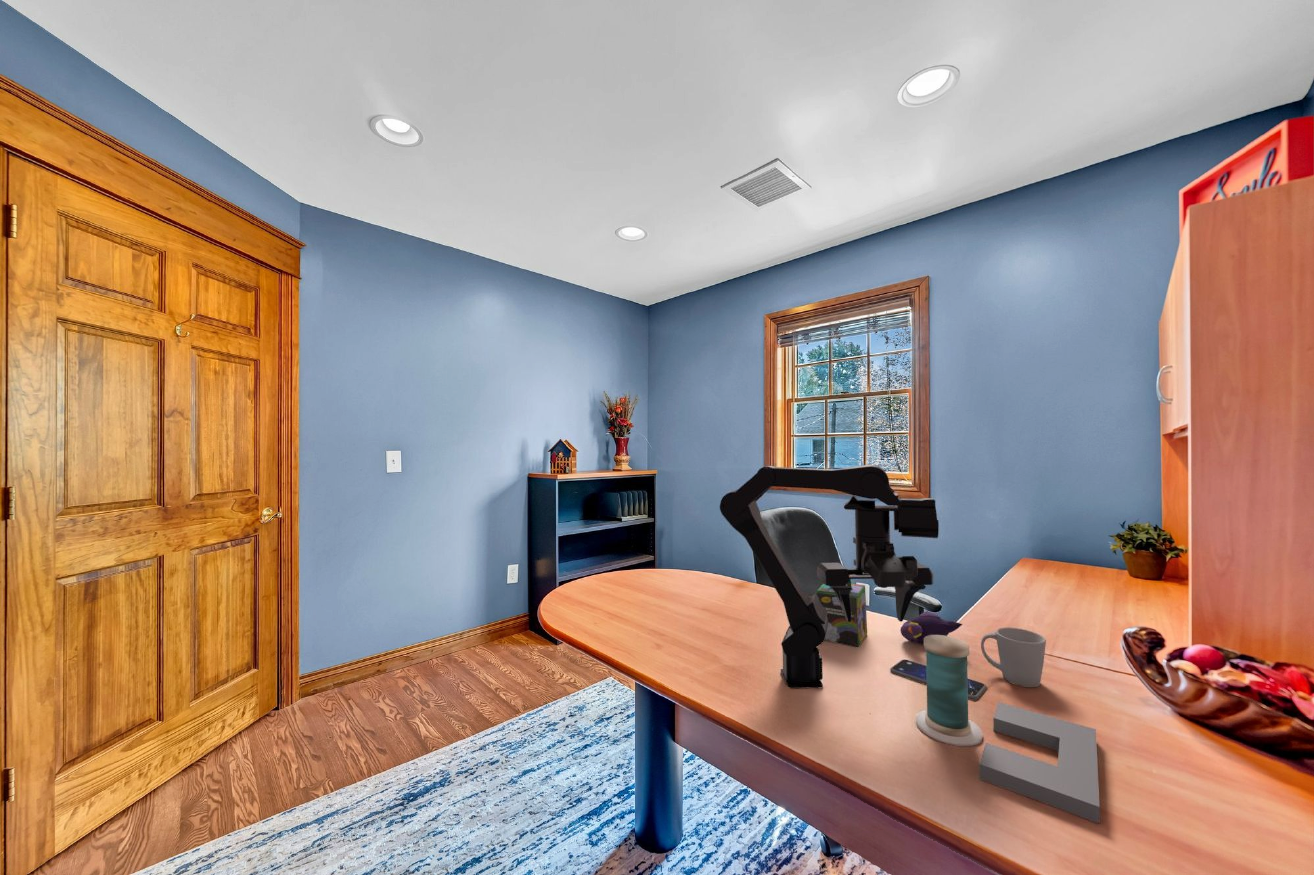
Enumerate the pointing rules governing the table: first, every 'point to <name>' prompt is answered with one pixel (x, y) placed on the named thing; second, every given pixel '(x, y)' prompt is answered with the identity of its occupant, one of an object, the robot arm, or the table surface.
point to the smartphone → (919, 675)
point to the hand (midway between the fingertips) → (874, 621)
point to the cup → (1018, 655)
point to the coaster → (968, 740)
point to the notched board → (1039, 780)
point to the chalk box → (837, 623)
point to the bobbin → (947, 685)
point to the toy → (927, 627)
